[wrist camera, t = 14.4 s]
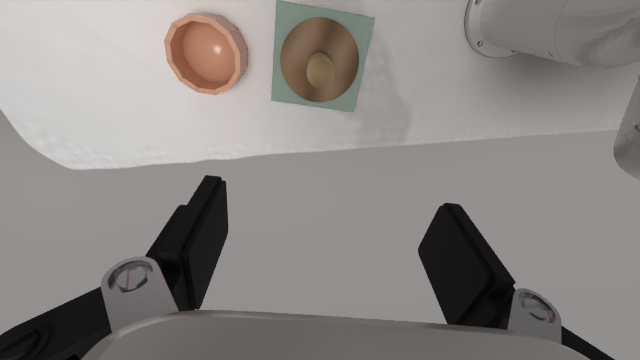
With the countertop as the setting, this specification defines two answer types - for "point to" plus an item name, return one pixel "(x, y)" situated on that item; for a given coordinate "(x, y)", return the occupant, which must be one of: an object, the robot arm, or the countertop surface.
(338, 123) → the countertop surface
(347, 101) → the mat
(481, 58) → the countertop surface
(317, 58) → the lid
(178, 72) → the bowl
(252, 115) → the countertop surface
